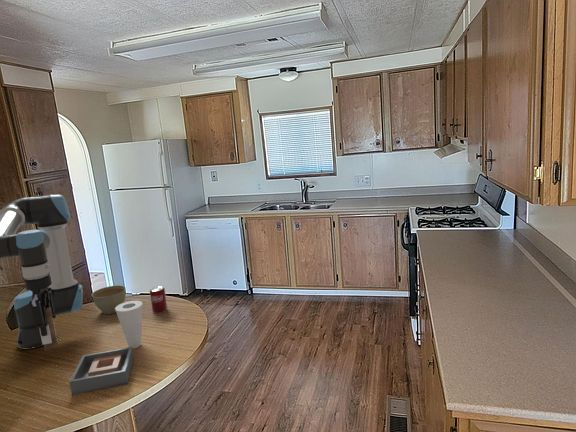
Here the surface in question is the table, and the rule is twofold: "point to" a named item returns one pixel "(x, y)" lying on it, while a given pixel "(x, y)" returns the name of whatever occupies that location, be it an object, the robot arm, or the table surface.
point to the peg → (52, 330)
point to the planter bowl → (109, 298)
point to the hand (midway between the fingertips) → (49, 340)
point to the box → (102, 370)
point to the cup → (131, 321)
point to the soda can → (158, 300)
